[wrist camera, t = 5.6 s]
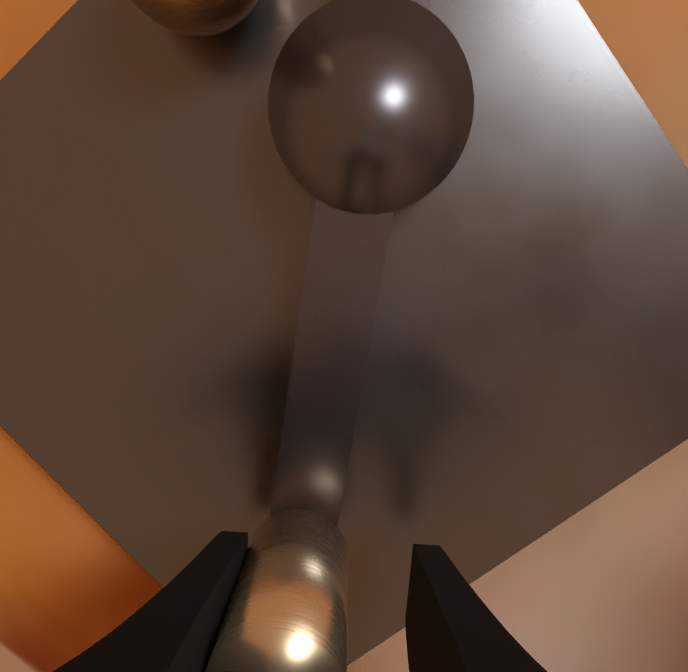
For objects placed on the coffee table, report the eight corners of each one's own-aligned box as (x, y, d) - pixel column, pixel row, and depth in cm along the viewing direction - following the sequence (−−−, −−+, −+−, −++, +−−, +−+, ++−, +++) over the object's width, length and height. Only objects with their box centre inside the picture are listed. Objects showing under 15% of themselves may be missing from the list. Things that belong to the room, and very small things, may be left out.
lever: (308, -165, 9) (270, -505, 5) (514, -129, 9) (650, -435, 5) (218, 562, 13) (149, 733, 8) (371, 585, 13) (379, 768, 8)
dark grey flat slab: (769, 346, 13) (957, 397, 9) (289, 672, 16) (265, 828, 12) (374, -249, 11) (386, -549, 7) (-124, 254, 13) (-341, 264, 9)
